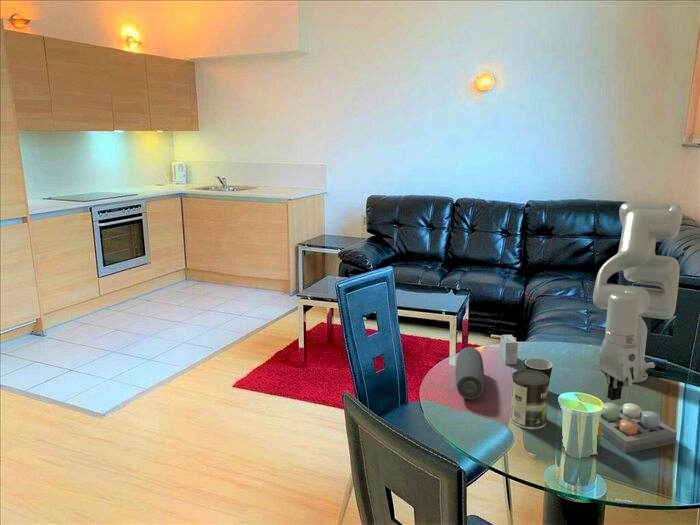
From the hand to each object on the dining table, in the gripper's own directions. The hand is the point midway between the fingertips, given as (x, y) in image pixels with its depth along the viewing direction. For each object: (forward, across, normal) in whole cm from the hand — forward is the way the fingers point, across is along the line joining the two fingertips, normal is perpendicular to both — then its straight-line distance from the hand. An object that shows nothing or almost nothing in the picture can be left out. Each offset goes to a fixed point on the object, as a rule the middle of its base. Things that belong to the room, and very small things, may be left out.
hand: (614, 398), depth 152 cm
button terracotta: (+7, -7, 0) cm, 10 cm away
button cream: (+7, 0, -7) cm, 10 cm away
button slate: (+6, -7, -7) cm, 11 cm away
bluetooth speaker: (+10, +36, +26) cm, 45 cm away
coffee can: (+10, +11, +20) cm, 25 cm away
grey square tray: (+10, -3, -3) cm, 11 cm away
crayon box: (+10, -6, +12) cm, 17 cm away
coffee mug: (+10, +27, +6) cm, 29 cm away
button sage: (+6, 0, 0) cm, 6 cm away
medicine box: (+9, +50, +3) cm, 51 cm away
